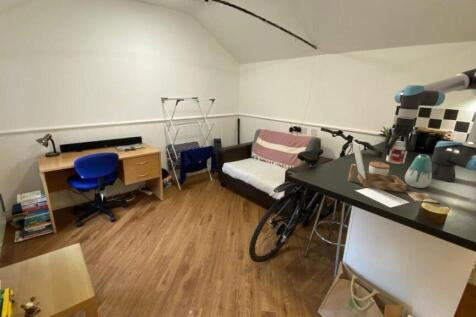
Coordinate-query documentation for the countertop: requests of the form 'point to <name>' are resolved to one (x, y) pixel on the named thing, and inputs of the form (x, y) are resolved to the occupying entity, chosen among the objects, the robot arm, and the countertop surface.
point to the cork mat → (419, 196)
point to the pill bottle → (397, 152)
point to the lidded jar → (378, 168)
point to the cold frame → (379, 181)
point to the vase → (419, 172)
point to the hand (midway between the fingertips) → (394, 161)
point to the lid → (359, 159)
